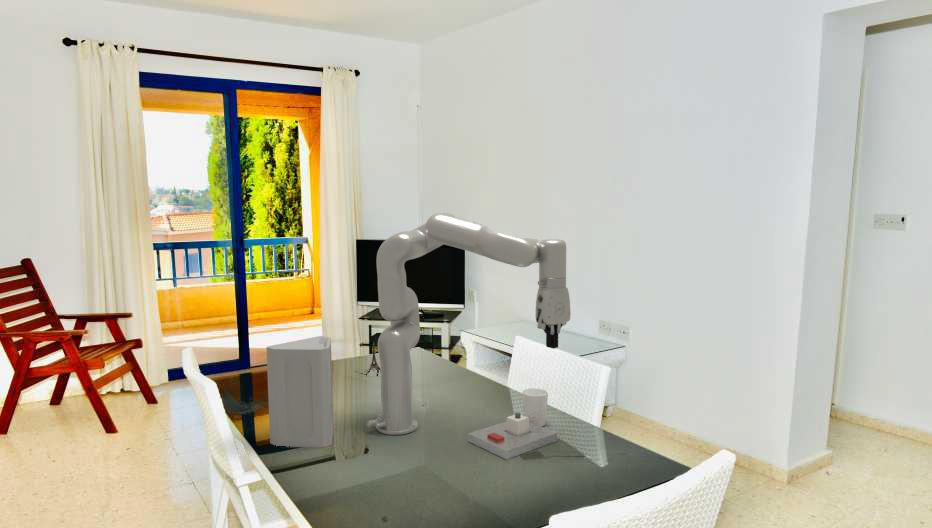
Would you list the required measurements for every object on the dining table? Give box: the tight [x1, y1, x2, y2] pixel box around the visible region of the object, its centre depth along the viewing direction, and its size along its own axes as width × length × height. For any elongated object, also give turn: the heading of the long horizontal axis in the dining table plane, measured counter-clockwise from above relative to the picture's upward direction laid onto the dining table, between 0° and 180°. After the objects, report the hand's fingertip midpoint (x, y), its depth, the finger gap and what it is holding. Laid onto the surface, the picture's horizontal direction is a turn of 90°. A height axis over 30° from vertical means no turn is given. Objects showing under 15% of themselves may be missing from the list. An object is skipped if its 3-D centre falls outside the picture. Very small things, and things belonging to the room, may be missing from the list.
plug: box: [506, 412, 529, 437], centre depth 173 cm, size 4×4×7 cm
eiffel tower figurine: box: [366, 342, 380, 373], centre depth 244 cm, size 15×10×13 cm
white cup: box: [521, 387, 549, 427], centre depth 186 cm, size 8×8×10 cm
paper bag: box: [265, 335, 334, 448], centre depth 173 cm, size 19×15×28 cm
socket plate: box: [467, 420, 559, 460], centre depth 172 cm, size 20×16×3 cm
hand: (552, 347), depth 171 cm, fingers closed
